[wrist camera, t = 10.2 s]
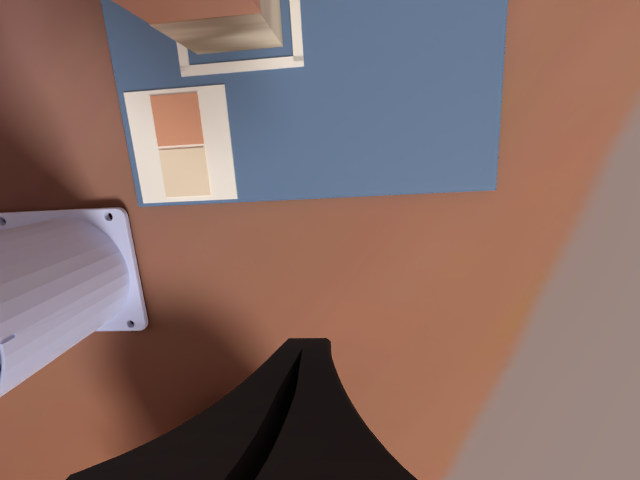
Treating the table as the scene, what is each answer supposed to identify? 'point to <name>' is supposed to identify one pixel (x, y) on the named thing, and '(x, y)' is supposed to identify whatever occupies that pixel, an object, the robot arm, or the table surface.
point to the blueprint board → (316, 104)
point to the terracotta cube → (187, 9)
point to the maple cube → (229, 31)
